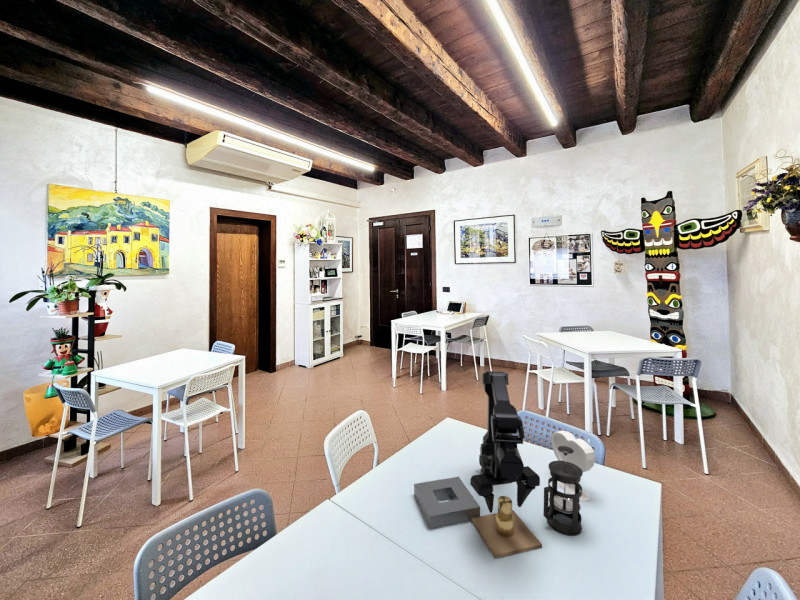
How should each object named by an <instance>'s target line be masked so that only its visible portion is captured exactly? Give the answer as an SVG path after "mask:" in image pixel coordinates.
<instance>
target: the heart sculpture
mask: <svg viewBox="0 0 800 600" xmlns="http://www.w3.org/2000/svg"><path fill="white" fill-rule="evenodd" d="M550 438H551V447H552V450H553V453H554V456H555V457H556V459H557V461H565V455H564V453H563V452H560V451H559V450H558V447H559V446H567V447H570V448H572V449H573V450H574V452H573V453H571V454H567V456H566V462H570V463H573V464H575V465H577V466H578V467H579V468H580V469H581V470H582V472H583V473H584V472H588V471H590V470H591V469H592V468H593V467H594V464H595V460H596V455H595V450H594V449H593V448H592V447H591V445H590V444H589V443H588V442H587V441H586V440H583V439H582V438H576V437H575V436H574V435H573V433H571V432H570V431H567V430H558V431H554V432H552V433H551V437H550ZM557 485H559V486H560V487H561V488H562V489H564V483H562V482H559V481H557ZM565 491H566V492H567V493H568V494H575V485H574V484H566V489H565ZM580 492H581V490H580ZM590 499H591V496H590V495H589V494H588V493H586V492H585V491H583V490H582V496H581V497H580V501H588V500H590Z"/></svg>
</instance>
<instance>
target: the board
mask: <svg viewBox="0 0 800 600" xmlns="http://www.w3.org/2000/svg"><path fill="white" fill-rule="evenodd" d="M496 513H497V512H496ZM496 513H490V514H485V515H480V516H479V517H474V518H471V521H470V522H471V524H472V525H473V526H474V528H475V530H476V531H477V533H478V535H479V536H480V538H481V540H482V541H483V543H484V544H485V546H486V547H487V548H488V551H489V552H490V553H491V555H492V557H493V558H494V559H500V558H503V557H508V556H512V555H515V554H516V555H517V554H521V553H526V552H530V551H533V550H538V549H541V548H542V549H543V544H542V542H541V541H540V540H539V539H538V538H537V536H536V535H535V534H534V533H533V531H532V530H531V529H530V528H529V527H528V525H526V524H525V522H524V521H523V520H522V519H521V518H520V516H519V515H518V514H517V513H516V512H515V510H514V509H512V515H513V516H514V534H513V536H511V537H503V536H501V535H499V534H498V533H497V532H496Z"/></svg>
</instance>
